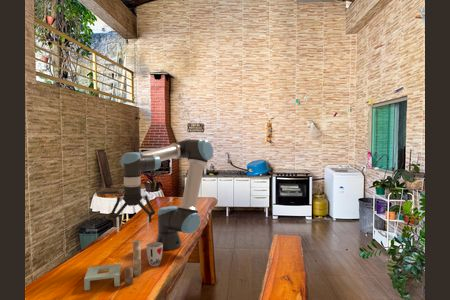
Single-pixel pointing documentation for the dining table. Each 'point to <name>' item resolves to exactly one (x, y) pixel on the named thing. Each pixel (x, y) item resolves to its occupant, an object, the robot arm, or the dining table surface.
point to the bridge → (103, 274)
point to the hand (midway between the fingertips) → (133, 230)
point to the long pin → (137, 257)
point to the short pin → (128, 276)
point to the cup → (154, 253)
